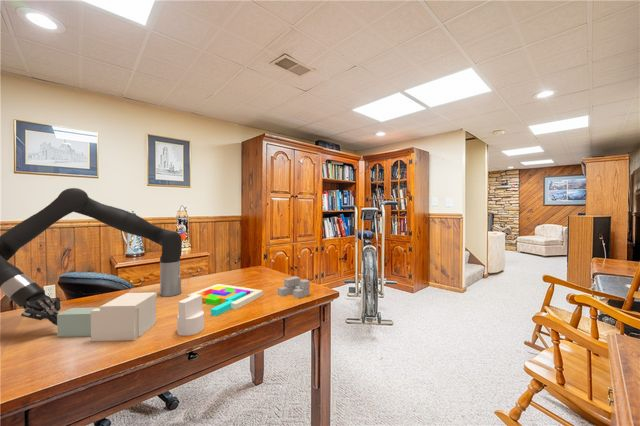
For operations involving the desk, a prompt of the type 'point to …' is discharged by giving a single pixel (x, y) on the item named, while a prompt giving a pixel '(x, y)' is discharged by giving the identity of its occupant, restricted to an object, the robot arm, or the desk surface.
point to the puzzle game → (227, 297)
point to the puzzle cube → (295, 287)
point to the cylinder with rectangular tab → (190, 316)
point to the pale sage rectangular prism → (74, 322)
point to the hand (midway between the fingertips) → (60, 322)
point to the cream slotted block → (124, 317)
